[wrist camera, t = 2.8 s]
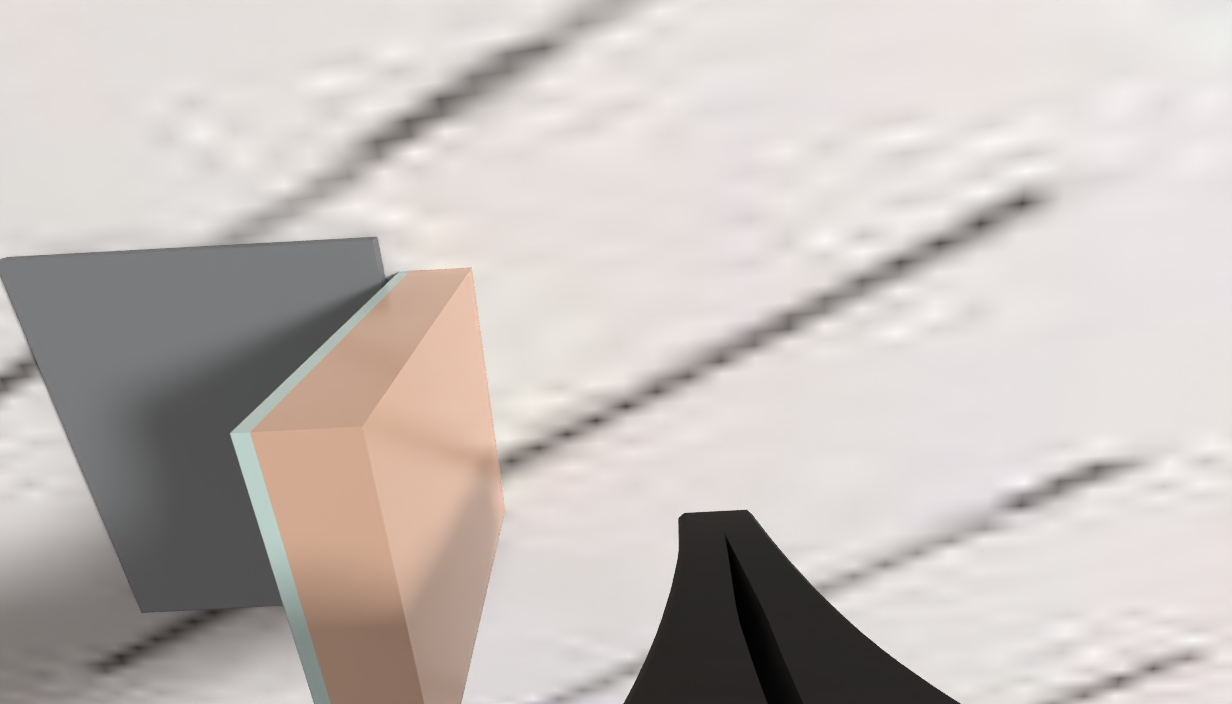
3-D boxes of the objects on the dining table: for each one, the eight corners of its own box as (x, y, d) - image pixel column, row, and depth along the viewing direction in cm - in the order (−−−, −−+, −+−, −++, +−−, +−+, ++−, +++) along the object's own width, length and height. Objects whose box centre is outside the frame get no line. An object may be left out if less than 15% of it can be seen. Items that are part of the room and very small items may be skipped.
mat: (444, 588, 23) (441, 597, 22) (149, 604, 23) (141, 612, 22) (377, 236, 18) (372, 240, 18) (7, 257, 18) (-6, 260, 18)
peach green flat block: (505, 509, 21) (442, 784, 13) (443, 513, 21) (340, 790, 13) (471, 267, 18) (361, 426, 10) (399, 271, 18) (229, 433, 10)
